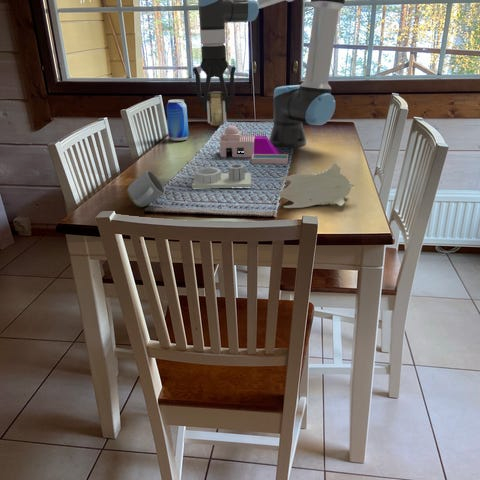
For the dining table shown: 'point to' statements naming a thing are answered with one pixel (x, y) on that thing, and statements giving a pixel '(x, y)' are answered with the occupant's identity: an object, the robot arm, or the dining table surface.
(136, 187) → the ceramic mug
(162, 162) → the dining table surface
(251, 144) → the model house
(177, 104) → the beer can
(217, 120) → the cylinder
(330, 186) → the beige lumpy piece
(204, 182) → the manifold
